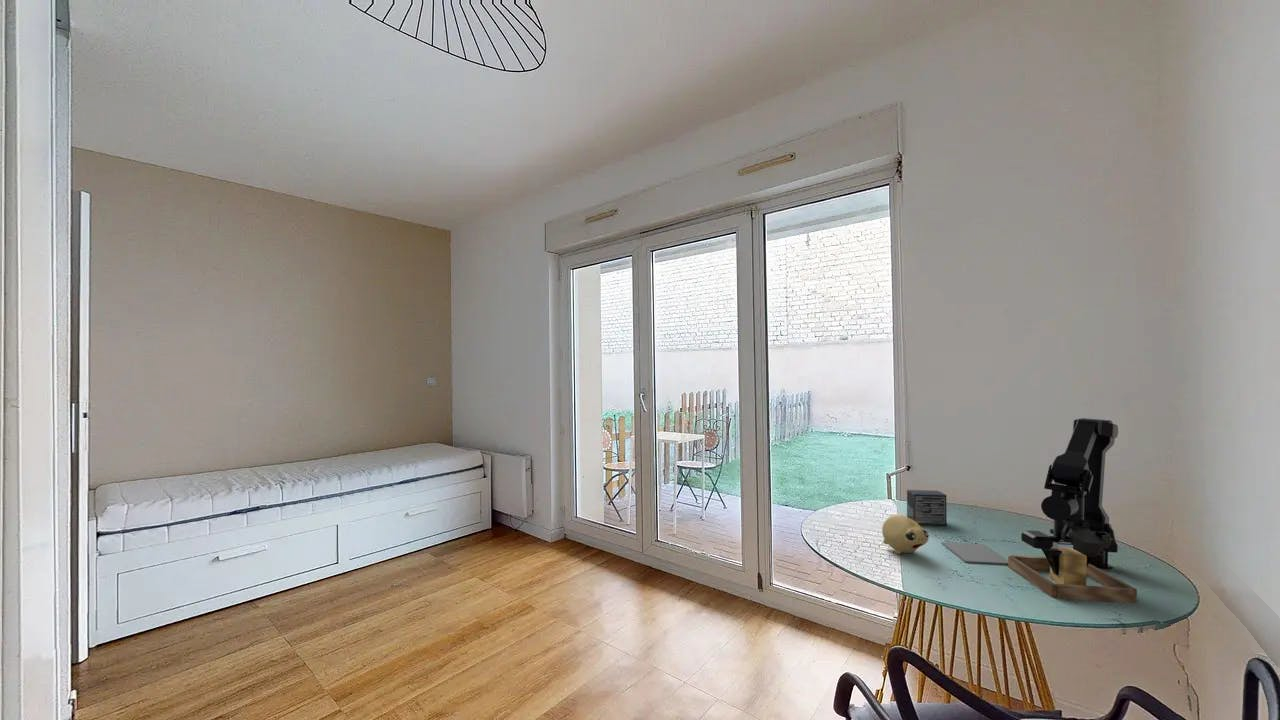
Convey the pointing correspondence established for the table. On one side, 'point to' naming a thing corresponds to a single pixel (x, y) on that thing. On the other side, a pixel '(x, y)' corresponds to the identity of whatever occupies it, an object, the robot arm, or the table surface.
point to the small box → (927, 507)
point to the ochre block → (1070, 568)
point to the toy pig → (903, 534)
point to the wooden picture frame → (1111, 592)
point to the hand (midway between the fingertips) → (1067, 575)
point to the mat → (975, 553)
